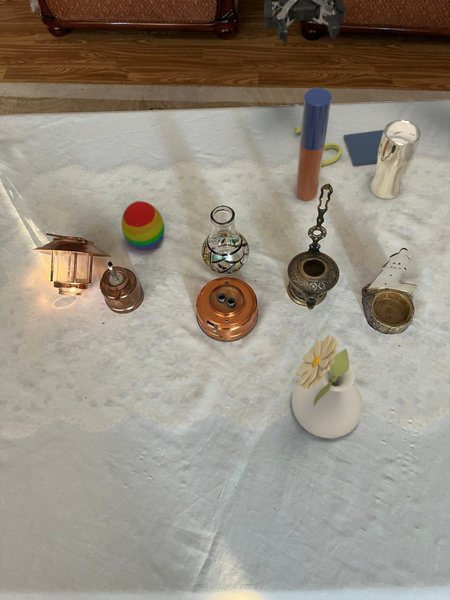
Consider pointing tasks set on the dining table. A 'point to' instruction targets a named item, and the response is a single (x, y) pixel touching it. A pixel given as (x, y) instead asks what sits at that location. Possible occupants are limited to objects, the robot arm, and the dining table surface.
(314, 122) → the blue canister
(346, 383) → the flower in vase
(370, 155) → the blue tile
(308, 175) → the terracotta pillar
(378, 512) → the dining table surface
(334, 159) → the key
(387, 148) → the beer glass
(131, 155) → the dining table surface
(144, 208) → the decorative egg
